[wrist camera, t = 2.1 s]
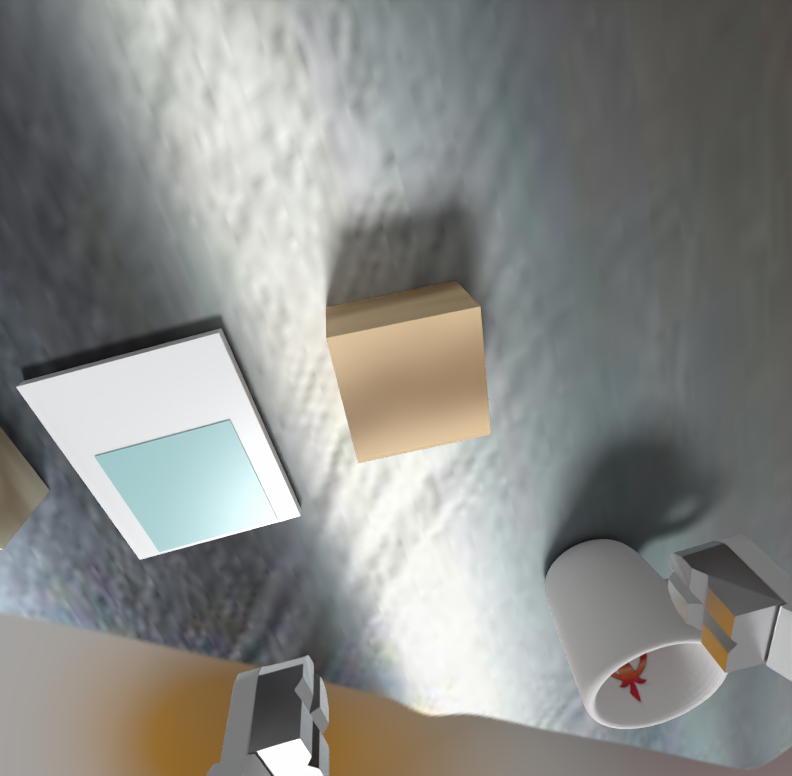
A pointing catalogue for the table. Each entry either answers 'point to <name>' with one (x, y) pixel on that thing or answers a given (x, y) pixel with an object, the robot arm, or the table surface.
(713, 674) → the cup
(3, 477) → the maple block
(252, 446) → the plate
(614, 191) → the table surface
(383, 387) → the oak block
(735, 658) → the robot arm
